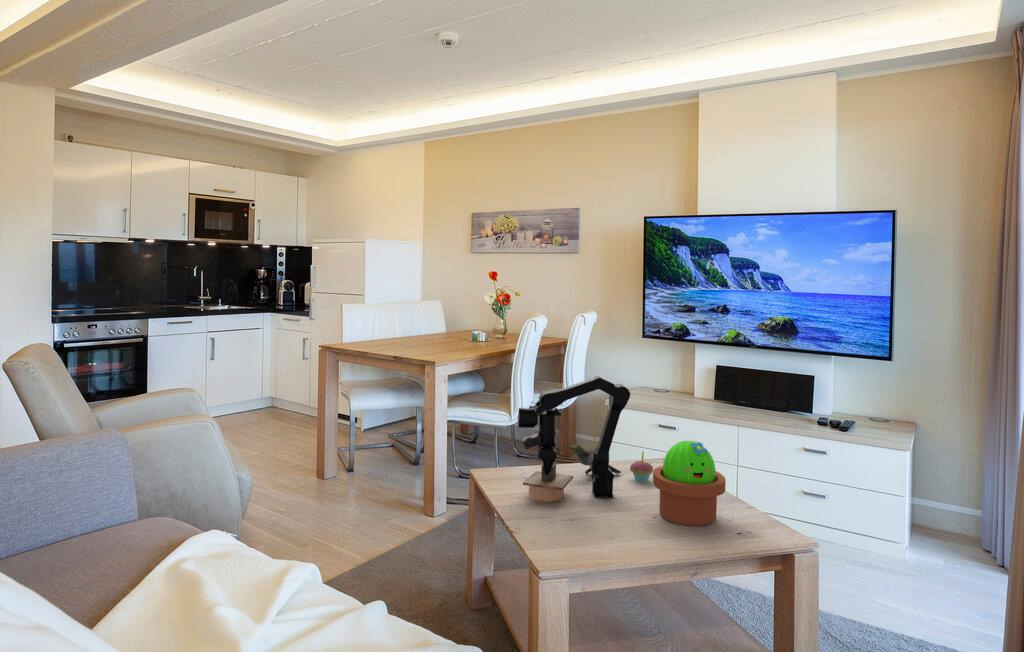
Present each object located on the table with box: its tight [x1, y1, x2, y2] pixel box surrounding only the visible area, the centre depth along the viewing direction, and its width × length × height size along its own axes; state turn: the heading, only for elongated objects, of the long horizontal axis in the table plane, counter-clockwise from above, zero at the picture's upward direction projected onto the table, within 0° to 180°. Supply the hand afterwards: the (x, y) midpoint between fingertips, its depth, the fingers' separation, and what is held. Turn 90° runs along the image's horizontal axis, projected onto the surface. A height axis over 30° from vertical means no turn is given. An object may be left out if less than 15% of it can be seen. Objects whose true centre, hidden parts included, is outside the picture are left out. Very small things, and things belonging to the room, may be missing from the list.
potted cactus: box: [652, 440, 727, 527], centre depth 200 cm, size 22×22×25 cm
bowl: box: [528, 486, 565, 502], centre depth 218 cm, size 12×12×5 cm
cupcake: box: [629, 451, 654, 483], centre depth 235 cm, size 9×8×12 cm
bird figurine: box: [567, 444, 622, 479], centre depth 241 cm, size 13×10×20 cm
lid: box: [522, 463, 574, 490], centre depth 218 cm, size 14×14×6 cm
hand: (546, 471), depth 218 cm, fingers open, 6 cm apart
